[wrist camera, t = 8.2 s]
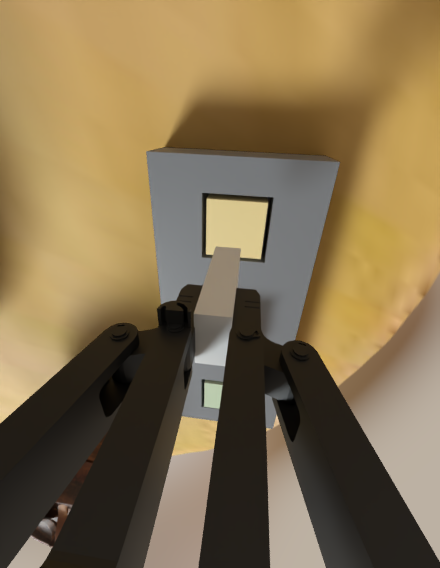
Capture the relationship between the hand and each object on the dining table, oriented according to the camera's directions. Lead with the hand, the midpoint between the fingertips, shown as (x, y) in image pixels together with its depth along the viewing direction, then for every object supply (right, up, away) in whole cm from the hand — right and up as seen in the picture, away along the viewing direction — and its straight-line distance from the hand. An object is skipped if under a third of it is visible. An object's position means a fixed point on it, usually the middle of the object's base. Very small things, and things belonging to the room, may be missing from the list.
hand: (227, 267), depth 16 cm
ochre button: (+1, +5, +9) cm, 10 cm away
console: (+1, -4, +15) cm, 16 cm away
